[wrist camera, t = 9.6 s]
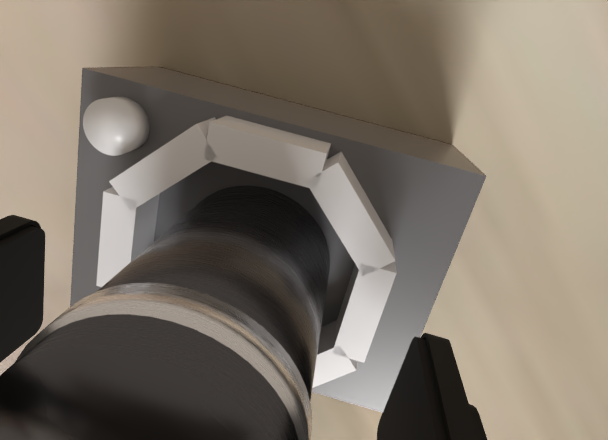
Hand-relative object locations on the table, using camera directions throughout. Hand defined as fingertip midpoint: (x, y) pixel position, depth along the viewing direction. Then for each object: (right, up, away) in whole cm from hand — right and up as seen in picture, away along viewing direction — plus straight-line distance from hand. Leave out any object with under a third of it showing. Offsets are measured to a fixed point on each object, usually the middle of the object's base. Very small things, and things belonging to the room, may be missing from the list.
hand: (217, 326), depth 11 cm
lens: (0, +1, +3) cm, 4 cm away
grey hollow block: (+1, +3, +8) cm, 9 cm away
